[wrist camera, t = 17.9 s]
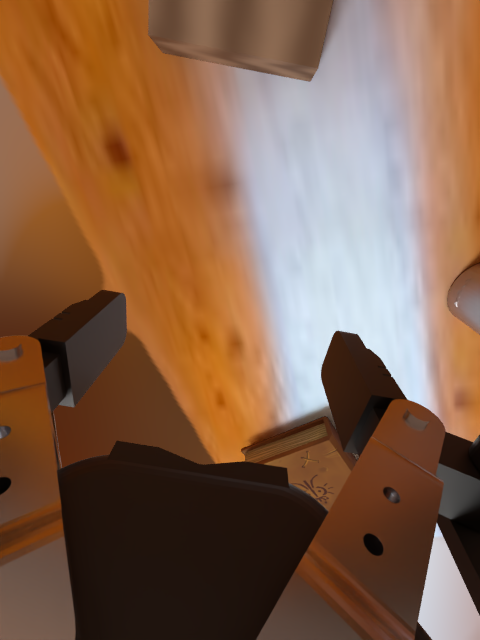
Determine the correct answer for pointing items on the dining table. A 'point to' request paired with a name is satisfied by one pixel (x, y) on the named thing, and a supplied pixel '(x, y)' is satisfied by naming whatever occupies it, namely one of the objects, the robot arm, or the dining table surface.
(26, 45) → the dining table surface
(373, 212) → the dining table surface
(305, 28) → the socket block
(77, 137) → the dining table surface
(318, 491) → the diary
